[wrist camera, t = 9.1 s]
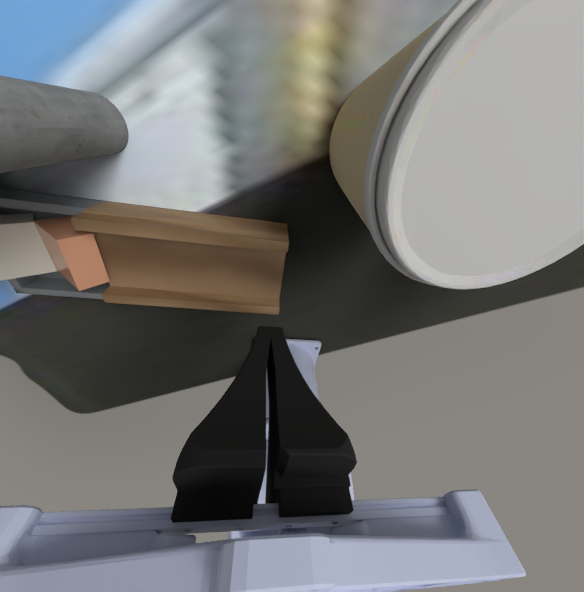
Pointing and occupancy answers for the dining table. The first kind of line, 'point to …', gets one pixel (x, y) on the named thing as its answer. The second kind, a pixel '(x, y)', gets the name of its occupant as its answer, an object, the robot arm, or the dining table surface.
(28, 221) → the tile
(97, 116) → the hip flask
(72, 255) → the tile
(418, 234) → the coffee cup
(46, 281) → the tray
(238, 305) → the board
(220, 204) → the dining table surface
